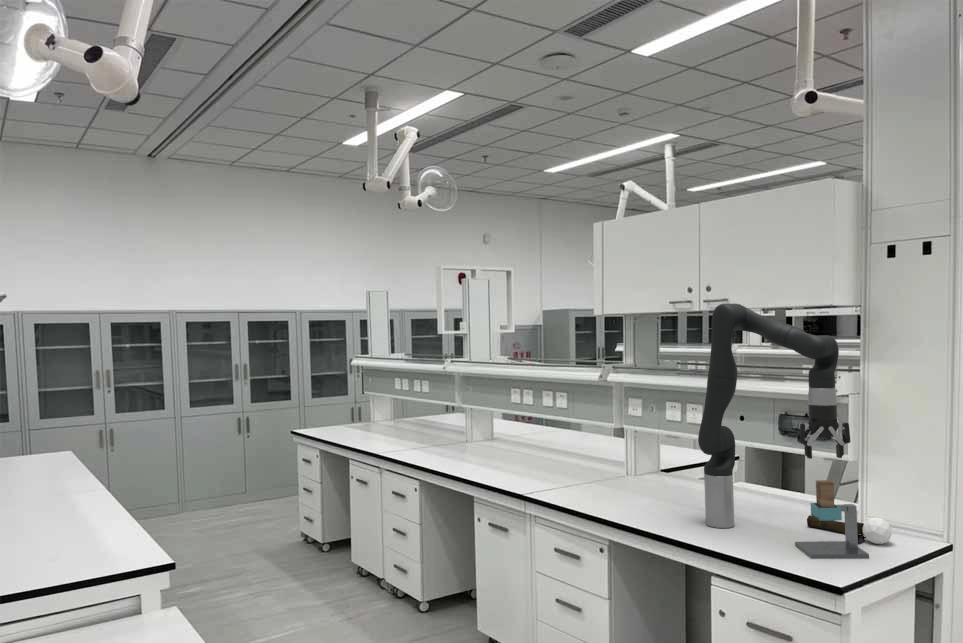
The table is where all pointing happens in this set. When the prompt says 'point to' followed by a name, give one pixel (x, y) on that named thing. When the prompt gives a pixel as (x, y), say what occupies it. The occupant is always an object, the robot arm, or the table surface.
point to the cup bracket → (835, 547)
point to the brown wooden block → (825, 494)
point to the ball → (877, 530)
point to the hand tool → (831, 525)
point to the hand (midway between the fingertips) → (824, 457)
